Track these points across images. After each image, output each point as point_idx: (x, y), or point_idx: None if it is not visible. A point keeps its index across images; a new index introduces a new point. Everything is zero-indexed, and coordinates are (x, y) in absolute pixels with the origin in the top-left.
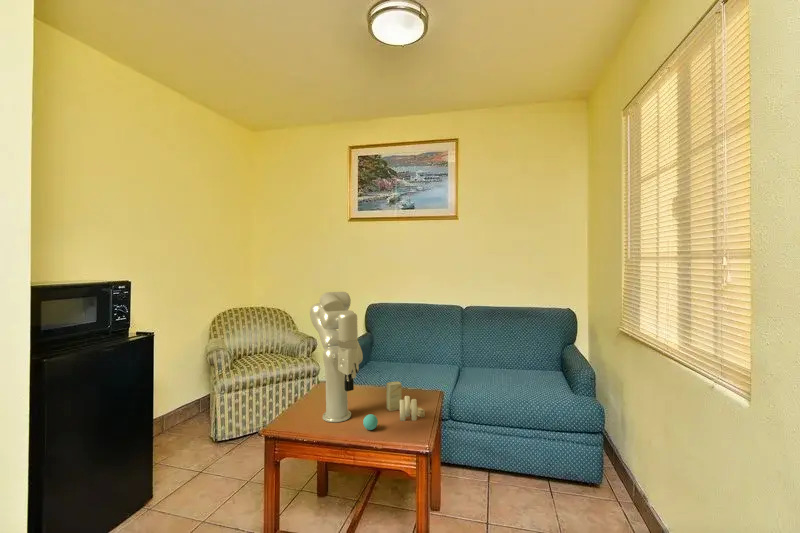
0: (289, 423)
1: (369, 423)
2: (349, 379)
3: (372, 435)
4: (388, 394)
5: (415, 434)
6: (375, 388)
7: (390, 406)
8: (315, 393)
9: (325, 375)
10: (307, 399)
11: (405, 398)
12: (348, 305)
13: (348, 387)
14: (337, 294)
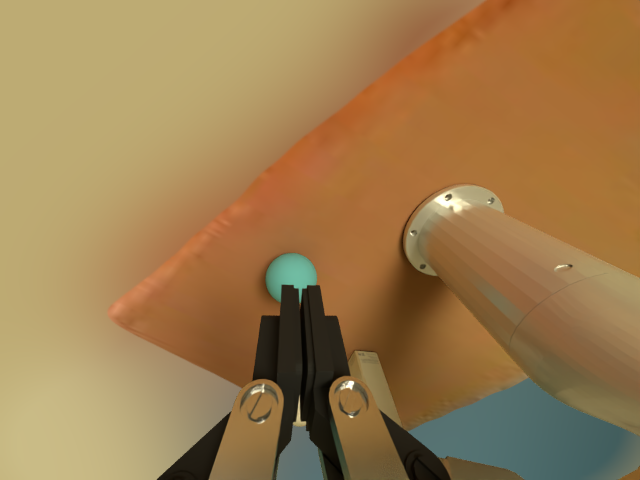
0: (577, 51)
1: (271, 268)
2: (216, 432)
3: (249, 248)
4: (376, 395)
5: (185, 331)
6: (495, 383)
7: (356, 362)
8: None
9: None
10: None
11: (299, 413)
12: None
13: (269, 323)
14: None
